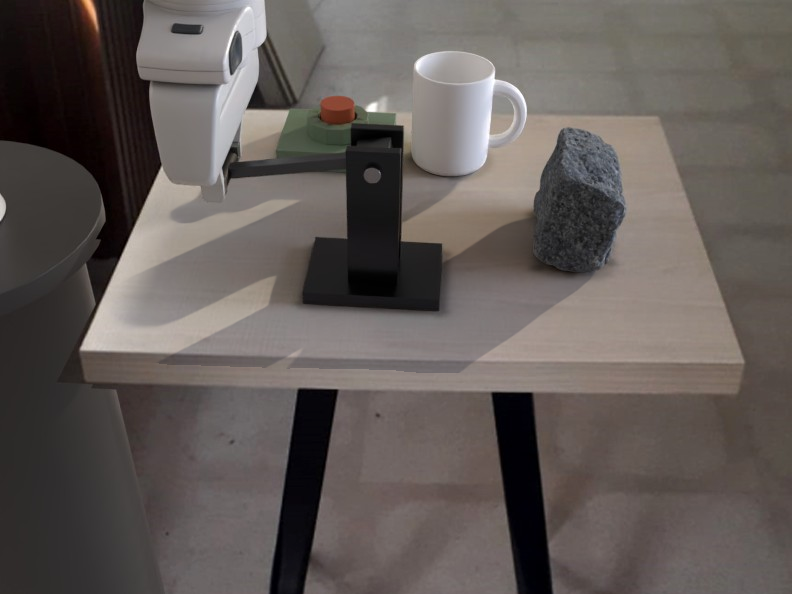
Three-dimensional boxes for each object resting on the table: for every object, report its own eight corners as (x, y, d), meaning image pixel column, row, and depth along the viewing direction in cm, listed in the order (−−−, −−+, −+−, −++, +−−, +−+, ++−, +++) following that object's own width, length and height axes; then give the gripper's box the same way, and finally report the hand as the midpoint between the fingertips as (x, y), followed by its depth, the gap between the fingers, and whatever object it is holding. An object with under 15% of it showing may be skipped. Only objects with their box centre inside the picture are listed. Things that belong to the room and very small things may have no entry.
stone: (521, 205, 97) (533, 112, 90) (597, 207, 97) (614, 114, 90) (533, 276, 88) (547, 178, 81) (618, 278, 88) (638, 180, 81)
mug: (519, 144, 107) (529, 53, 100) (523, 181, 101) (534, 87, 94) (411, 140, 107) (414, 49, 100) (409, 176, 101) (412, 82, 94)
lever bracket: (302, 303, 84) (294, 160, 75) (315, 247, 90) (309, 109, 81) (439, 311, 83) (447, 168, 74) (442, 254, 90) (450, 116, 81)
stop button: (319, 125, 101) (318, 109, 100) (323, 110, 104) (322, 94, 103) (352, 126, 101) (352, 111, 100) (356, 111, 104) (356, 96, 103)
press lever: (212, 199, 80) (204, 174, 78) (224, 170, 83) (217, 145, 82) (391, 184, 78) (387, 157, 76) (396, 155, 81) (392, 128, 80)
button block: (277, 169, 101) (274, 134, 99) (291, 126, 109) (289, 92, 106) (389, 174, 101) (390, 139, 98) (396, 131, 108) (396, 97, 106)
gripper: (195, -34, 80) (212, 121, 89) (128, 67, 64) (156, 241, 74) (270, -30, 79) (279, 125, 89) (221, 72, 64) (237, 246, 74)
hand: (223, 179), depth 81 cm, fingers closed on press lever, 5 cm apart
